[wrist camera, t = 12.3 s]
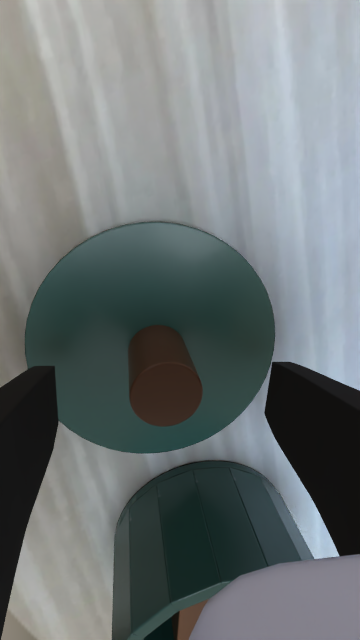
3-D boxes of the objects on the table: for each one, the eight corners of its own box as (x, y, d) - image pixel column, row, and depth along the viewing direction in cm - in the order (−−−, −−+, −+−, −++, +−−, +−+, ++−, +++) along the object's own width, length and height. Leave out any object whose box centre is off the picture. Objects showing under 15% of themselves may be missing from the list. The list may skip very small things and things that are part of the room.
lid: (40, 445, 16) (10, 532, 12) (19, 213, 13) (-32, 219, 8) (251, 434, 18) (291, 506, 14) (282, 226, 14) (347, 237, 10)
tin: (115, 599, 20) (112, 752, 15) (114, 466, 17) (110, 596, 11) (269, 579, 22) (320, 710, 16) (293, 454, 19) (367, 563, 13)
